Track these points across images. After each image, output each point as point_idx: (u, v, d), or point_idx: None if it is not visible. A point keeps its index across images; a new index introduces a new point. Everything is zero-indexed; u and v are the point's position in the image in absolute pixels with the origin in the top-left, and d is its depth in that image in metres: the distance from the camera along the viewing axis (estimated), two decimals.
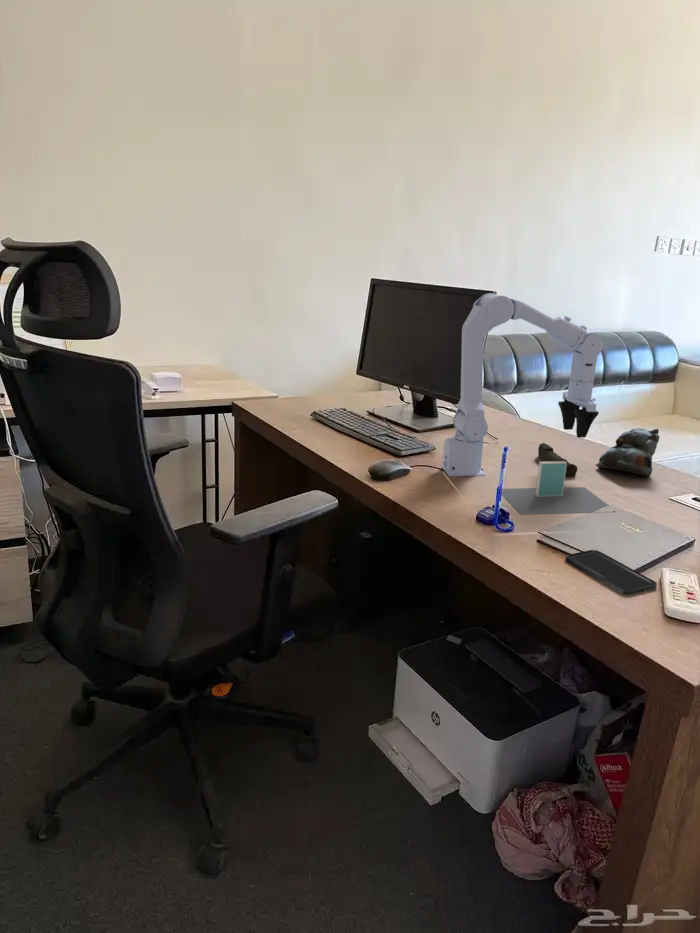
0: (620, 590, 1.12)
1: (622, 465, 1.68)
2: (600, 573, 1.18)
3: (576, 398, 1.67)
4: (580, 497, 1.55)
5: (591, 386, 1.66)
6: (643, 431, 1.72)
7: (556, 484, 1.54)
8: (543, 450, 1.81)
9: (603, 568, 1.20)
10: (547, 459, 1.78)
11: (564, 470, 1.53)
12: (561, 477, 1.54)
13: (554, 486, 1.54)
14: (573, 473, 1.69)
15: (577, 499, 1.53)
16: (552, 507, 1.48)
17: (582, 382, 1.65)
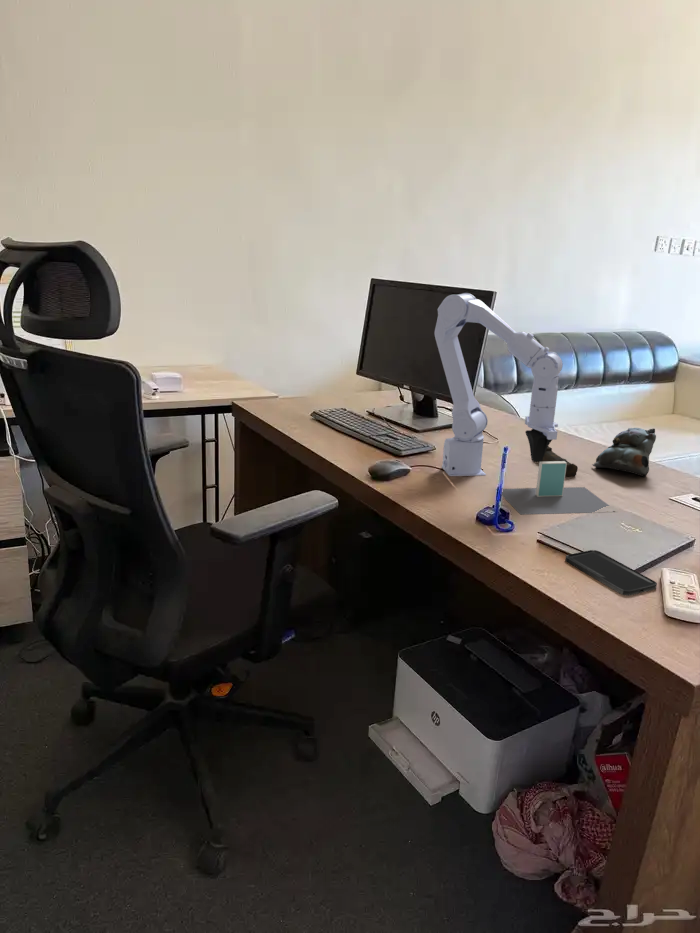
0: (620, 590, 1.12)
1: (619, 465, 1.68)
2: (600, 573, 1.18)
3: (537, 424, 1.57)
4: (580, 497, 1.55)
5: (553, 412, 1.57)
6: (640, 431, 1.72)
7: (556, 484, 1.54)
8: None
9: (603, 568, 1.20)
10: (546, 459, 1.78)
11: (564, 470, 1.53)
12: (561, 477, 1.54)
13: (554, 486, 1.54)
14: (573, 473, 1.69)
15: (577, 499, 1.53)
16: (552, 507, 1.48)
17: (543, 408, 1.56)
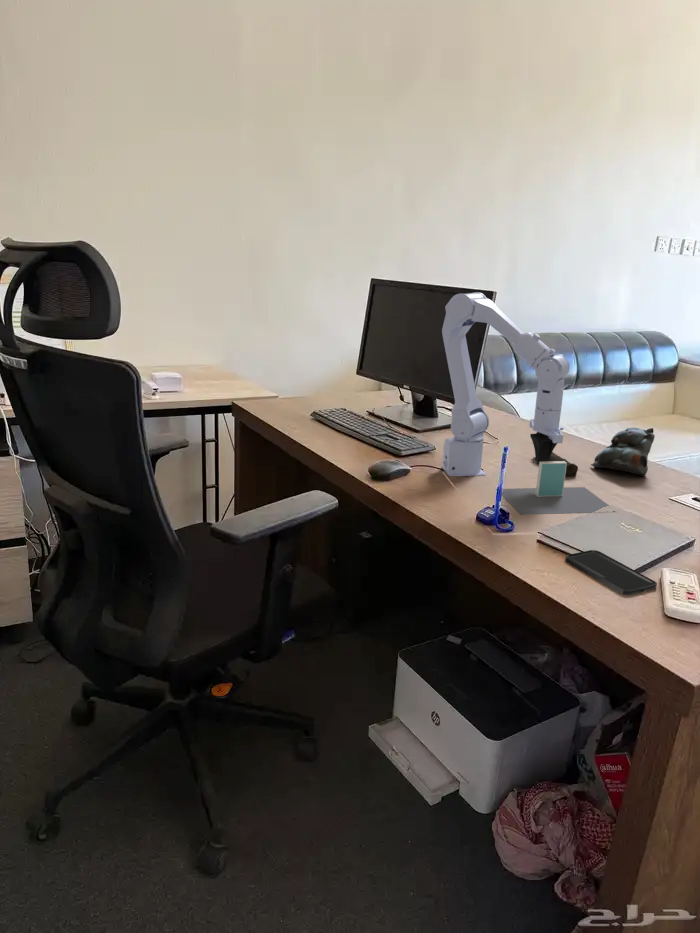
0: (620, 590, 1.12)
1: (618, 464, 1.68)
2: (600, 573, 1.18)
3: (542, 428, 1.54)
4: (580, 497, 1.55)
5: (558, 415, 1.54)
6: (638, 430, 1.72)
7: (556, 484, 1.54)
8: None
9: (603, 568, 1.20)
10: None
11: (564, 470, 1.53)
12: (561, 477, 1.54)
13: (554, 486, 1.54)
14: (573, 473, 1.69)
15: (577, 499, 1.53)
16: (552, 507, 1.48)
17: (548, 411, 1.53)
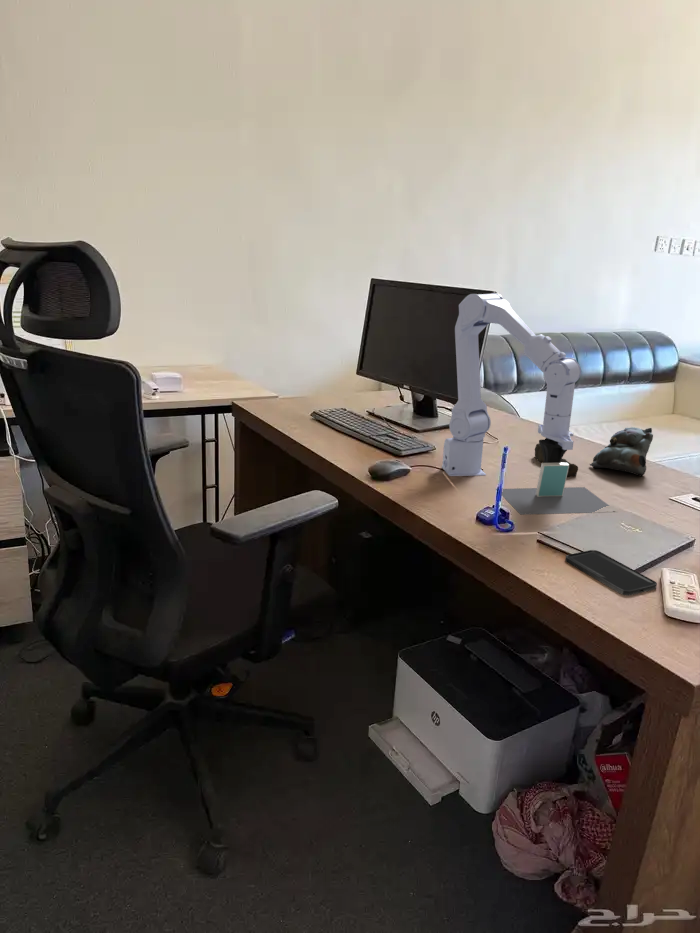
0: (620, 590, 1.12)
1: (617, 464, 1.68)
2: (600, 573, 1.18)
3: (551, 434, 1.49)
4: (580, 497, 1.55)
5: (568, 420, 1.49)
6: (637, 430, 1.72)
7: (557, 485, 1.54)
8: (541, 450, 1.81)
9: (603, 568, 1.20)
10: None
11: (566, 472, 1.53)
12: (562, 479, 1.53)
13: (554, 487, 1.54)
14: (574, 473, 1.69)
15: (577, 499, 1.53)
16: (552, 507, 1.48)
17: (558, 416, 1.48)
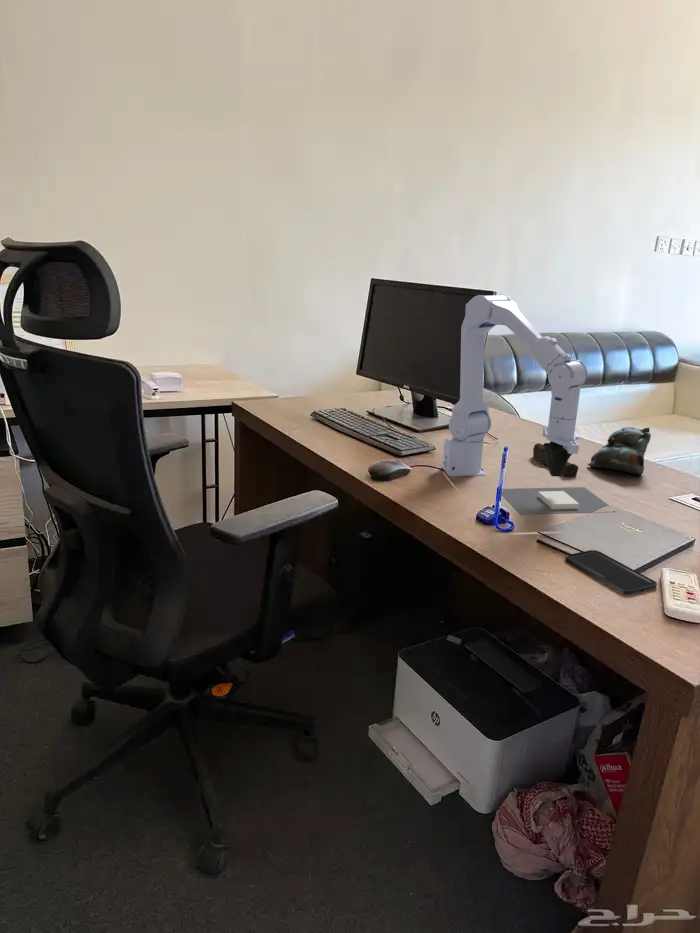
0: (620, 590, 1.12)
1: (615, 464, 1.68)
2: (601, 573, 1.18)
3: (556, 437, 1.47)
4: (580, 497, 1.55)
5: (573, 424, 1.46)
6: (634, 430, 1.72)
7: None
8: (540, 450, 1.80)
9: (603, 568, 1.20)
10: (545, 459, 1.78)
11: None
12: None
13: None
14: (574, 473, 1.69)
15: (577, 499, 1.53)
16: None
17: (563, 419, 1.45)
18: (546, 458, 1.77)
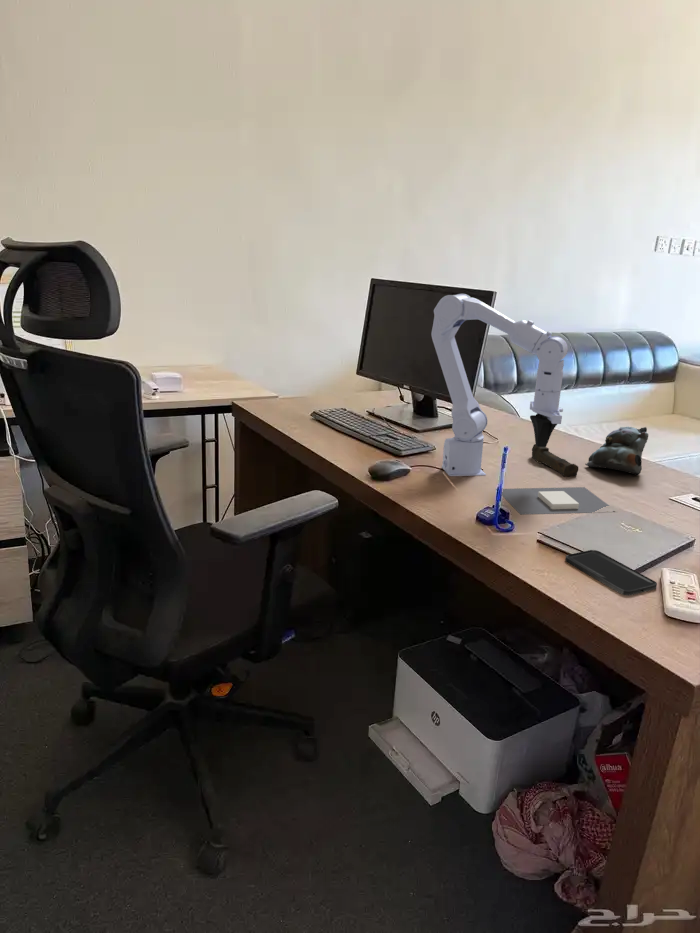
0: (620, 590, 1.12)
1: (613, 464, 1.68)
2: (601, 573, 1.18)
3: (541, 409, 1.56)
4: (580, 497, 1.55)
5: (558, 396, 1.55)
6: (632, 429, 1.73)
7: None
8: (539, 450, 1.80)
9: (603, 568, 1.20)
10: (544, 459, 1.78)
11: None
12: None
13: None
14: (574, 473, 1.69)
15: (577, 499, 1.53)
16: None
17: (548, 392, 1.54)
18: (546, 458, 1.77)
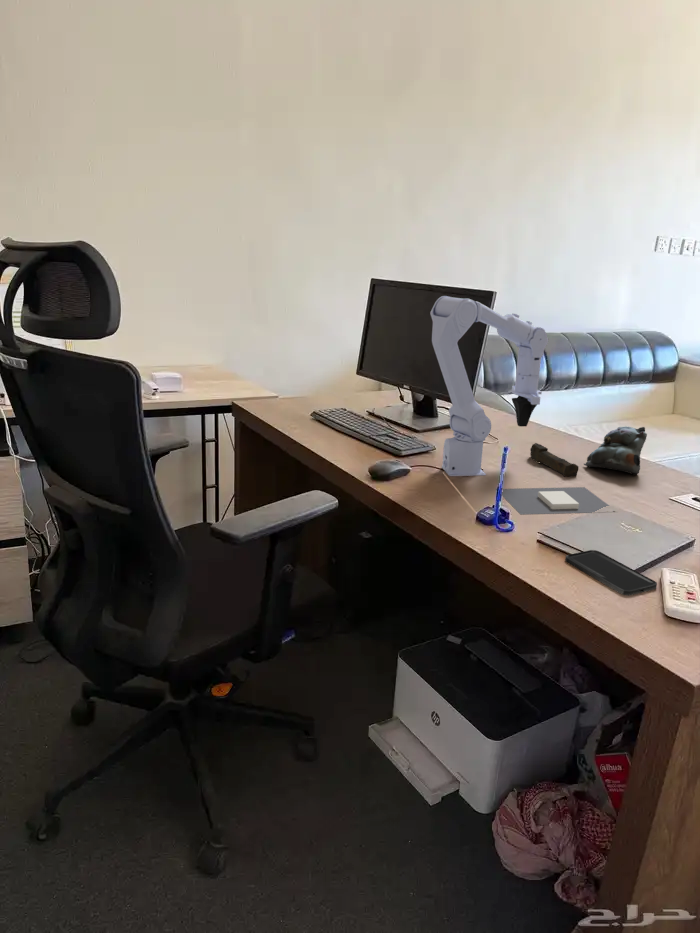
0: (621, 590, 1.12)
1: (612, 464, 1.68)
2: (601, 573, 1.18)
3: (522, 391, 1.71)
4: (580, 497, 1.55)
5: (536, 380, 1.71)
6: (630, 429, 1.73)
7: None
8: (538, 450, 1.80)
9: (603, 568, 1.20)
10: (544, 459, 1.78)
11: None
12: None
13: None
14: (574, 473, 1.69)
15: (577, 499, 1.53)
16: None
17: (527, 376, 1.70)
18: (545, 458, 1.77)
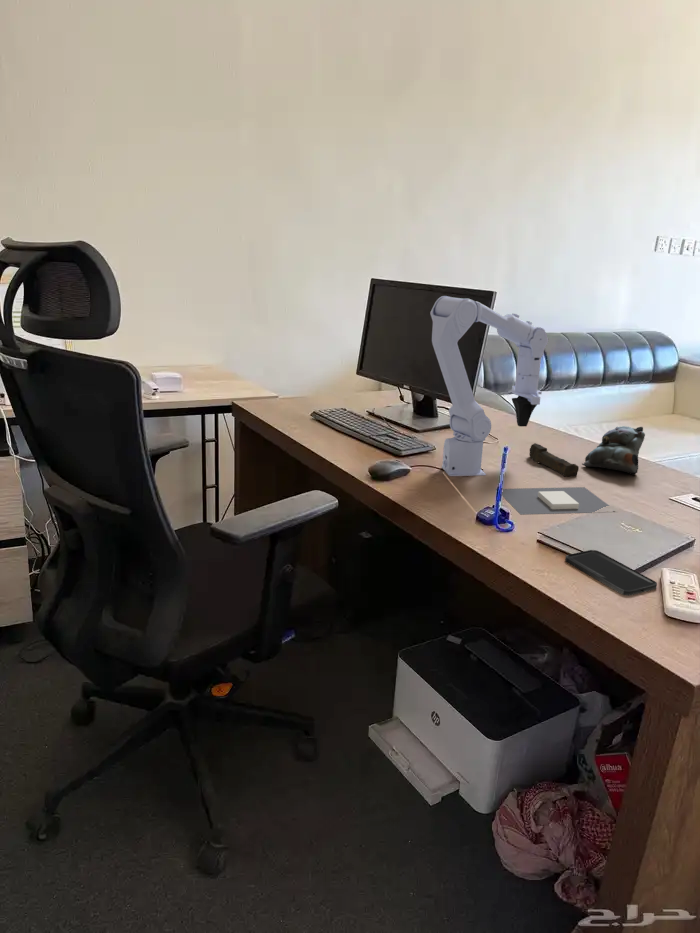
0: (621, 590, 1.12)
1: (611, 464, 1.69)
2: (601, 573, 1.18)
3: (522, 391, 1.71)
4: (580, 497, 1.55)
5: (536, 380, 1.71)
6: (628, 429, 1.73)
7: None
8: (537, 451, 1.80)
9: (603, 568, 1.20)
10: (543, 460, 1.78)
11: None
12: None
13: None
14: (575, 473, 1.69)
15: (577, 499, 1.53)
16: None
17: (527, 376, 1.70)
18: (545, 458, 1.77)
